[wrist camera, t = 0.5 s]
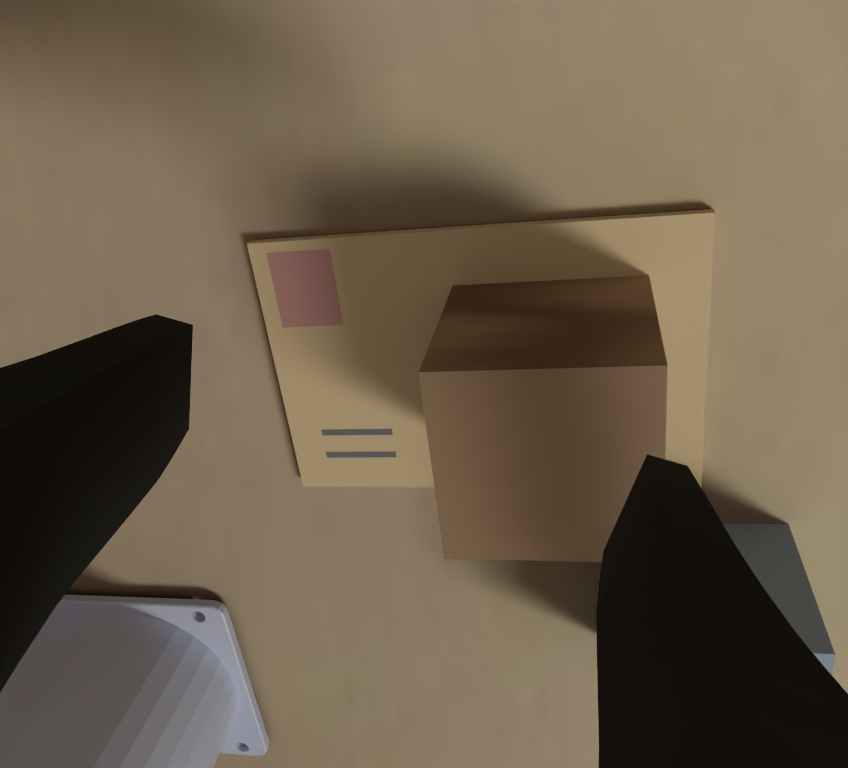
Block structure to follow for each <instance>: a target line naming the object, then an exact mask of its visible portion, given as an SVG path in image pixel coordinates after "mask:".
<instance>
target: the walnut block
mask: <svg viewBox="0 0 848 768" xmlns="http://www.w3.org/2000/svg"><path fill="white" fill-rule="evenodd" d="M667 367H668V365H667V360H666V355H665V351H664V346H663V341H662V336H661V331H660V326H659V321H658V316H657V311H656V306H655V302H654V297H653V292H652V287H651V282H650V277H649V275H647V276H627V277H608V278H588V279H569V280H549V281H530V282H511V283H491V284H472V285H453V286H452V289H451V291H450V294H449V296H448V299H447V301H446V304H445V307H444V309H443V312H442V314H441V317H440V319H439V322H438V324H437V327H436V329H435V332H434V334H433V337H432V339H431V342H430V344H429V347H428V350H427V352H426V355H425V357H424V360H423V362H422V365H421V367H420V370H419V372H418V373H419V380H420V387H421V394H422V401H423V408H424V416H425V423H426V430H427V437H428V444H429V451H430V459H431V466H432V473H433V480H434V487H435V494H436V501H437V509H438V516H439V523H440V530H441V537H442V544H443V552H444V559H484V560H526V561H569V562H602V558H603V551H604V549H605V546H606V544H607V542H608V540H609V537H610V535H611V533H612V531H613V529H614V526H615V524H616V522H617V520H618V518H619V515H620V513H621V511H622V509H623V506H624V504H625V502H626V500H627V498H628V495H629V493H630V491H631V489H632V487H633V484H634V482H635V480H636V478H637V476H638V473H639V471H640V469H641V467H642V464H643V462H644V460H645V458H646V456H647V454H648V455H651V456H655V457H658V458H662V459H665V452H666V410H667Z"/></svg>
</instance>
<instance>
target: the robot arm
mask: <svg viewBox="0 0 848 768" xmlns="http://www.w3.org/2000/svg"><path fill="white" fill-rule="evenodd" d="M192 331H193V325H191V324H188V323H184V322H181V321H177V320H174V319H170V318H167V317H163V316H160V315H153V316H149V317H146V318H142V319H139V320H136V321H133V322H130V323H127V324H125V325H122V326H119V327H116V328H113V329H111V330H108V331H105V332H103V333H100V334H97V335H94V336H92V337H89V338H86V339H84V340H81V341H78V342H75V343H72V344H70V345H67V346H64V347H61V348H59V349H56V350H53V351H50V352H48V353H45V354H42V355H39V356H36V357H33V358H30V359H27V360H24V361H21V362H18V363H14V364H11V365H8V366H5V367H2V368H0V768H213V766H214V764H215V762H216V760H217V758H218V755H219V753H228V754H240V755H252V756H261V755H263V754H265V753H266V751H267V749H268V746H269V740H268V737H267V734H266V730H265V727H264V724H263V721H262V718H261V714H260V711H259V708H258V705H257V702H256V699H255V695H254V692H253V689H252V686H251V683H250V679H249V676H248V673H247V670H246V667H245V663H244V660H243V657H242V654H241V651H240V647H239V644H238V641H237V638H236V635H235V632H234V628H233V625H232V622H231V619H230V616H229V612H228V610H227V608H226V607H225V606H224V605H223V604H222V603H221V602H219V601H215V600H200V599H173V598H146V597H119V596H92V595H65V594H66V592H67V591H68V590H69V588H70V587H71V586H72V585H73V583H74V582H75V581H76V579H77V578H78V577H79V576H80V575H81V573H82V572H83V571H84V570H85V569H86V567H87V566H88V565H89V564H90V563H91V561H92V560H93V559H94V558H95V556H96V555H97V554H98V553H99V552H100V550H101V549H102V548H103V547H104V546H105V544H106V543H107V542H108V541H109V539H110V538H111V537H112V536H113V535H114V533H115V532H116V531H117V530H118V529H119V527H120V526H121V525H122V524H123V523H124V521H125V520H126V519H127V518H128V516H129V515H130V514H131V513H132V512H133V510H134V509H135V508H136V507H137V505H138V504H139V503H140V502H141V500H142V499H143V498H144V497H145V496H146V494H147V493H148V492H149V491H150V489H151V488H152V487H153V485H154V484H155V483H156V482H157V480H158V479H159V478H160V476H161V475H162V473H163V471H164V470H165V468H166V467H167V465H168V463H169V462H170V460H171V459H172V457H173V455H174V454H175V452H176V450H177V448H178V447H179V445H180V443H181V442H182V440H183V438H184V436H185V435H186V433H187V431H188V430H189V412H190V385H191V358H192ZM200 612H201V613H202V614H201V613H200ZM597 670H598V714H599V768H848V694H847V693H846V691H845V690H844V689H843V688H842V687H841V686H840V685H839V683H838V682H837V681H836V680H835V679H834V677H833V676H832V675H831V674H830V673H829V672H828V670H827V669H826V668H825V667H824V666H823V665H822V663H821V662H820V661H819V660H818V659H817V657H816V656H815V655H814V654H813V653H812V652H811V650H810V649H809V648H808V647H807V645H806V644H805V643H804V642H803V640H802V639H801V638H800V637H799V635H798V634H797V633H796V631H795V630H794V629H793V628H792V626H791V625H790V623H789V622H788V621H787V619H786V618H785V617H784V615H783V614H782V612H781V611H780V610H779V608H778V607H777V606H776V604H775V603H774V602H773V600H772V599H771V597H770V596H769V595H768V593H767V592H766V590H765V589H764V587H763V586H762V585H761V583H760V582H759V580H758V579H757V577H756V576H755V574H754V573H753V571H752V570H751V568H750V567H749V565H748V564H747V562H746V561H745V559H744V558H743V556H742V554H741V553H740V551H739V550H738V548H737V547H736V545H735V543H734V542H733V540H732V539H731V537H730V535H729V534H728V532H727V531H726V529H725V527H724V526H723V524H722V522H721V521H720V519H719V517H718V516H717V514H716V512H715V511H714V509H713V507H712V506H711V504H710V502H709V500H708V499H707V497H706V495H705V494H704V492H703V490H702V489H701V487H700V485H699V484H698V482H697V480H696V479H695V477H694V475H693V474H692V472H691V471H690V469H689V467H688V466H686V465H683V464H679V463H676V462H672V461H669V460H665V459H662V458H658V457H655V456H651V455H648V454H647V456H646V458H645V460H644V462H643V464H642V467H641V469H640V471H639V473H638V476H637V478H636V480H635V482H634V484H633V487H632V489H631V491H630V493H629V495H628V498H627V500H626V502H625V504H624V506H623V509H622V511H621V513H620V515H619V518H618V520H617V522H616V524H615V526H614V529H613V531H612V533H611V535H610V537H609V540H608V542H607V544H606V546H605V549H604V551H603V558H602V566H601V574H600V582H599V591H598V601H597Z"/></svg>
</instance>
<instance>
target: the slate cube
mask: <svg viewBox="0 0 848 768" xmlns="http://www.w3.org/2000/svg"><path fill="white" fill-rule="evenodd" d="M722 524H723V526H724V527H725V529H726V531H727V532H728V534H729V535H730V537H731V539H732V540H733V542H734V543H735V545H736V547H737V548H738V550H739V551H740V553H741V554H742V556H743V558H744V559H745V561H746V562H747V564H748V565H749V567H750V568H751V570H752V571H753V573H754V574H755V576H756V577H757V579H758V580H759V582H760V583H761V585H762V586H763V587H764V589H765V590H766V592H767V593H768V595H769V596H770V597H771V599H772V600H773V602H774V603H775V604H776V606H777V607H778V608H779V610H780V611H781V612H782V614H783V615H784V617H785V618H786V619H787V621H788V622H789V623H790V625H791V626H792V628H793V629H794V630H795V631H796V633H797V634H798V635H799V637H800V638H801V639H802V640H803V642H804V643H805V644H806V645H807V647H808V648H809V649H810V650H811V652H812V653H813V654H814V655H815V656H816V657H817V659H818V660H819V661H820V662H821V663H822V665H823V666H824V667H825V668H826V669H827V670H828V672H829V673H830V674H831V675H832V669H833V663H834V657H835V653H834V650H833V647H832V645H831V642H830V639H829V636H828V633H827V631H826V628H825V625H824V622H823V619H822V617H821V614H820V611H819V608H818V605H817V603H816V600H815V597H814V594H813V591H812V589H811V586H810V583H809V580H808V577H807V575H806V572H805V569H804V566H803V563H802V561H801V558H800V555H799V552H798V549H797V547H796V544H795V541H794V538H793V535H792V533H791V530H790V527H789V524H756V523H722Z"/></svg>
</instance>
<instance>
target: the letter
mask: <svg viewBox="0 0 848 768" xmlns="http://www.w3.org/2000/svg"><path fill="white" fill-rule="evenodd" d="M714 226H715V211H714V209H706V210H691V211H676V212H661V213H646V214H632V215H617V216H602V217H587V218H572V219H558V220H543V221H528V222H513V223H498V224H484V225H469V226H454V227H439V228H424V229H410V230H395V231H380V232H365V233H351V234H336V235H321V236H306V237H291V238H277V239H262V240H251V241H249V242H248V243H247V247H248V251H249V255H250V260H251V264H252V268H253V273H254V277H255V281H256V286H257V290H258V294H259V298H260V303H261V307H262V311H263V316H264V320H265V324H266V329H267V333H268V337H269V341H270V346H271V350H272V354H273V359H274V363H275V367H276V372H277V376H278V380H279V384H280V389H281V393H282V397H283V402H284V406H285V410H286V415H287V419H288V423H289V427H290V432H291V436H292V440H293V445H294V449H295V453H296V458H297V462H298V466H299V470H300V475H301V479H302V483H303V487H434V480H433V473H432V466H431V459H430V451H429V444H428V437H427V430H426V423H425V416H424V408H423V401H422V394H421V387H420V380H419V373H418V372H419V370H420V367H421V365H422V362H423V360H424V357H425V355H426V352H427V350H428V347H429V344H430V342H431V339H432V337H433V334H434V332H435V329H436V327H437V324H438V322H439V319H440V317H441V314H442V312H443V309H444V307H445V304H446V301H447V299H448V296H449V294H450V291H451V289H452V286H453V285H472V284H491V283H511V282H530V281H549V280H569V279H588V278H608V277H627V276H647V275H649V277H650V282H651V287H652V292H653V297H654V302H655V306H656V311H657V316H658V321H659V326H660V331H661V336H662V341H663V346H664V351H665V355H666V360H667V365H668V367H667V410H666V452H665V460H669V461H672V462H676V463H679V464H683V465H686V466H688V467H689V469H690V471H691V472H692V474H693V475H694V477H695V479H696V480H697V482H698V484H699V485H700V487H701V488H702V468H703V448H704V428H705V408H706V387H707V367H708V347H709V327H710V307H711V287H712V266H713V246H714Z"/></svg>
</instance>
